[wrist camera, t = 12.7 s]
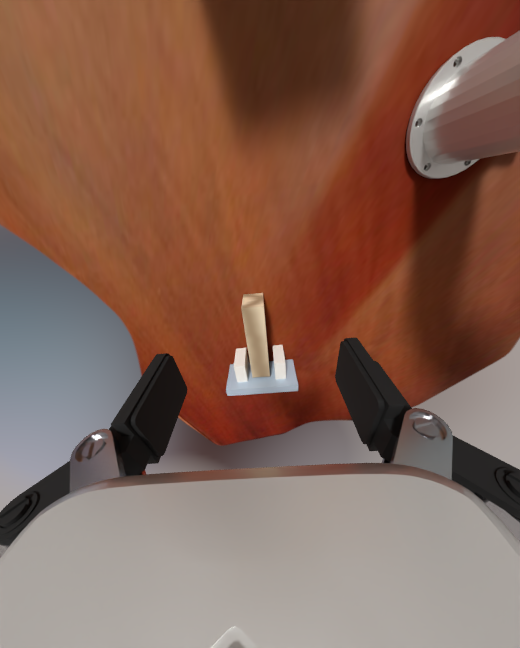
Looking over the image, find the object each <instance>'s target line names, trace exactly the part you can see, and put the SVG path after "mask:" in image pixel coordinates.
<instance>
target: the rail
mask: <svg viewBox="0 0 520 648" xmlns="http://www.w3.org/2000/svg"><path fill="white" fill-rule="evenodd" d="M241 309H242V315H243V322H244V328H245V334H246V340H247V347H248V353H249V359H250V365H251V372H252V378H254V377H269V376H270V367H269V356H268V344H267V333H266V322H265V310H264V299H263V293H257V294H245V295H243V300H242V307H241Z"/></svg>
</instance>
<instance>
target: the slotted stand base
mask: <svg viewBox="0 0 520 648" xmlns="http://www.w3.org/2000/svg"><path fill="white" fill-rule="evenodd" d="M273 358H274V361H269V367H270V376H269V377H254V378H252V372H251V365H250V363H249V361H248V356H247V350H246V348H240V349H236V354H235V361H234V364H230V369H229V375H228V381H227V387H226V392H227V395H228V396H234V395H248V394H262V393H275V392H289V391H298V382H297V377H296V373H295V368H294V363H293V359H292V360H285V357H284V351H283V345H275V346H273Z"/></svg>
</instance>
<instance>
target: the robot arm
mask: <svg viewBox="0 0 520 648" xmlns="http://www.w3.org/2000/svg"><path fill="white" fill-rule="evenodd" d="M415 123H416V126H415ZM406 151H407V156H408V160H409V162H410V164H411V166H412V168H413V169H414V170H415V171H416V172H417V173H418V174H419V175H421V176H423V177H426V178H430V179H439V178H446V177H449V176H453V175H456V174H458V173H460V172H462V171H464V170H465V169H467V168H468V167H470V166H471V165H473V164H474V163H475V162H477V161H478V160H479V159H480V158H486V157H491V156H497V155H502V154H508V153H513V152H519V151H520V31H518V32H517V33H515V34H514V35H512V36H510V37H509V38H507V39H504V38H501V37H488V38H484V39H481V40H477V41H475V42H474V43H472V44H470V45H468V46H466V47H464V48H463V49H462V50H460V51H459V52H457V53H456V54H455V55H453V56H452V57H451V58H450V59H449V60H448V61H446V62H445V63H444V64H443V65H442V66H441V67H440V68H439V69H438V71H437V72H436V73H435V74H434V75H433V76H432V78H431V79H430V80H429V82H428V83H427V85H426V86H425V88H424V89H423V91H422V93H421V95H420V97H419V98H418V100H417V102H416V104H415V107H414V109H413V112H412V114H411V117H410V121H409V125H408V129H407V137H406ZM335 378H336V382H337V385H338V387H339V389H340V392H341V394H342V396H343V399H344V401H345V403H346V406H347V408H348V410H349V413H350V415H351V417H352V420H353V422H354V424H355V427H356V429H357V431H358V434H359V436H360V438H361V441H362V442H363V444H367V446H368V448H369V451H378V452H379V453H380V456H381V457H382V458H383V461H382V463H357V464H356V463H355V464H326V465H306V466H286V467H266V468H249V469H248V468H247V469H229V470H211V471H194V472H178V473H161V474H149V475H146V472H145V468H146V465H147V464H152V463H158V462H159V460H160V457H161V456H163V455H164V453H165V451H166V448H167V445H168V443H169V440H170V437H171V434H172V432H173V429H174V426H175V423H176V421H177V418H178V415H179V413H180V410H181V407H182V404H183V402H184V399H185V396H186V394H187V386H186V384H185V382H184V380H183V378H182V376H181V373H180V371H179V369H178V367H177V365H176V363H175V360H174V358H173V357H172V356H170V355H169V354H157V355H156V356H155V357H154V359H153V360H152V362H151V363H150V365H149V366H148V368H147V369H146V371H145V373H144V374H143V376H142V377H141V379H140V380H139V382H138V383H137V385H136V387H135V388H134V389H133V391H132V393H131V394H130V396H129V397H128V399H127V400H126V402H125V403H124V405H123V406H122V408H121V409H120V411H119V413H118V414H117V416H116V417H115V419H114V420H113V422H112V423H111V427H110V429H109V430H108V429H100V430H97V431H95V432H93V433H91V434H89V435H88V436H86V437H85V438H84V439H83V440H82V441H81V442H80V443H79V444H78V445H77V446H76V447H75V449H74V450H73V452H72V454H71V459H70V461H69V462H67V463H66V464H65V465H63V466H62V467H60V468H59V469H57V470H56V471H54V472H53V473H51V474H50V475H48V476H47V477H45V478H44V479H42V480H41V481H39V482H38V483H36V484H35V485H33V486H32V487H30V488H29V489H27V490H26V491H25V492H23V493H22V494H20V495H19V496H17V497H16V498H15V499H13V500H12V501H11V502H10V503H9V504H8V505H7V506H6V507H5V508H4V509H3V510H2V511H1V512H0V648H520V470H519V469H517V468H515V467H513V466H511V465H509V464H507V463H505V462H503V461H501V460H499V459H498V458H496V457H493V456H492V455H490V454H488V453H486V452H484V451H482V450H480V449H478V448H476V447H474V446H472V445H470V444H468V443H466V442H464V441H462V440H460V439H458V438H457V437H455V436H453V435H452V432H451V430H450V428H449V426H448V425H447V424H446V423H445V422H444V421H443V420H442V419H441V418H440V417H438V416H437V415H435V414H433V413H431V412H430V411H427V410H424V409H418V408H414V409H412V408H411V407H410V405H409V404H408V403H407V401H406V400H405V399H404V397H403V396H402V394H401V393H400V392H399V390H398V389H397V388H396V386H395V385H394V384H393V382H392V381H391V379H390V378H389V377H388V375H387V374H386V373H385V371H384V370H383V369H382V367H381V366H380V364H379V363H378V362H376V361H373V360H372V358H371V357H370V355H369V354H368V353H367V351H366V350H365V348H364V347H363V346H362V344H361V343H360V341H359V340H358V339H357V338H346V339H344V341H342V342H341V344H340V350H339V356H338V362H337V369H336V375H335Z"/></svg>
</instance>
